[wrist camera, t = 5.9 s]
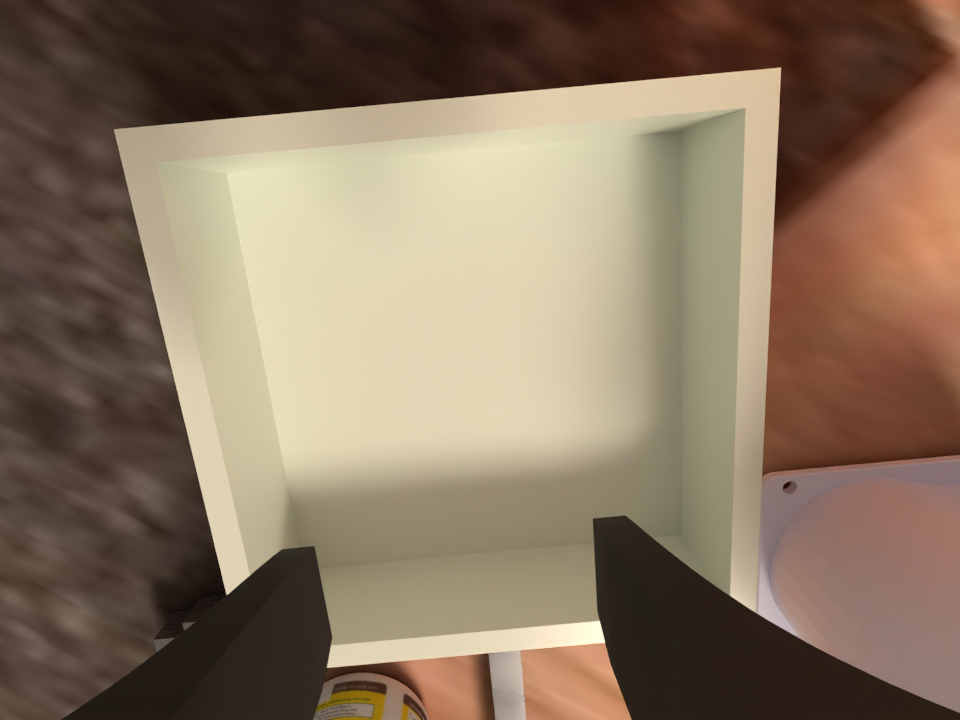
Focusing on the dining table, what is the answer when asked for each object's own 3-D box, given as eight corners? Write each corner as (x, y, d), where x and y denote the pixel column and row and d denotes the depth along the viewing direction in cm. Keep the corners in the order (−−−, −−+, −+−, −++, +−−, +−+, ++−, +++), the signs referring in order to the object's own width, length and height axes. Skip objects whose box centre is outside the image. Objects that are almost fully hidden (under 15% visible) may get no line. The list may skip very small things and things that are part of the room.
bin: (698, 104, 18) (781, 67, 13) (693, 539, 22) (755, 628, 17) (206, 150, 18) (113, 129, 13) (293, 576, 22) (245, 675, 17)
